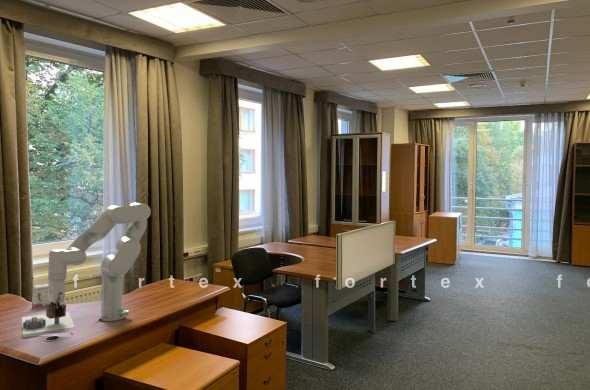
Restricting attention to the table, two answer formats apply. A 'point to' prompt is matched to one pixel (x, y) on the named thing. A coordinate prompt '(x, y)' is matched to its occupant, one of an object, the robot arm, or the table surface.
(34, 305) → the ink box
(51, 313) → the walnut gear
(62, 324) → the gear board
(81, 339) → the table surface
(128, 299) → the table surface
